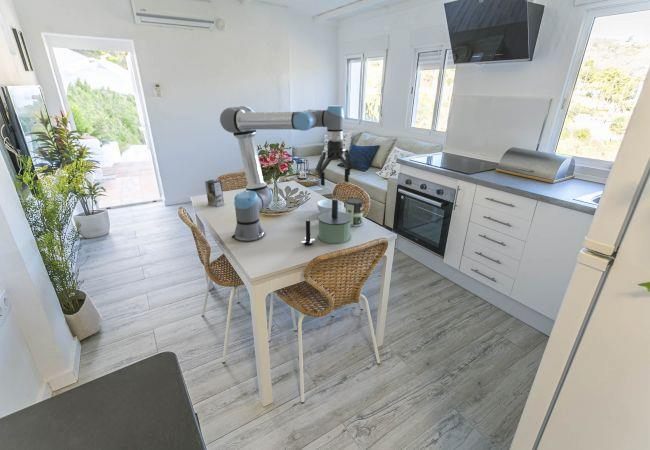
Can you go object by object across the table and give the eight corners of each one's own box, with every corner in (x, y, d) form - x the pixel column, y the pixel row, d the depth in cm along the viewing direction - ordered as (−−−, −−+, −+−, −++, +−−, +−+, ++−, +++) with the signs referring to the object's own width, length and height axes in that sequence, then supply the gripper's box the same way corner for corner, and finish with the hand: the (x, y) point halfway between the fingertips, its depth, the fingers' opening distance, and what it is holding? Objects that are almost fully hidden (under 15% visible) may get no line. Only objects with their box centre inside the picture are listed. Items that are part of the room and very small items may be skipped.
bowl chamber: (327, 245, 158) (327, 226, 154) (313, 233, 172) (313, 215, 168) (355, 239, 165) (356, 221, 161) (340, 228, 179) (341, 211, 175)
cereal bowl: (342, 219, 191) (342, 208, 188) (315, 217, 193) (315, 206, 190) (344, 209, 206) (345, 199, 204) (319, 208, 209) (319, 198, 206)
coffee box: (224, 204, 214) (221, 181, 208) (217, 206, 209) (213, 183, 203) (215, 201, 219) (212, 179, 212) (207, 204, 214) (204, 181, 207)
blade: (304, 247, 156) (303, 223, 151) (299, 242, 162) (298, 218, 157) (317, 245, 159) (317, 221, 154) (311, 239, 165) (311, 216, 160)
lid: (326, 228, 154) (327, 207, 149) (312, 216, 168) (312, 196, 164) (357, 222, 161) (358, 202, 157) (341, 211, 176) (342, 192, 171)
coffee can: (362, 220, 190) (364, 198, 184) (361, 227, 181) (362, 204, 175) (346, 219, 192) (346, 197, 186) (343, 225, 182) (344, 202, 177)
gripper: (314, 143, 141) (315, 188, 150) (361, 139, 152) (359, 182, 160) (308, 141, 147) (309, 184, 156) (353, 137, 158) (352, 178, 166)
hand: (334, 183), depth 158 cm, fingers open, 13 cm apart
